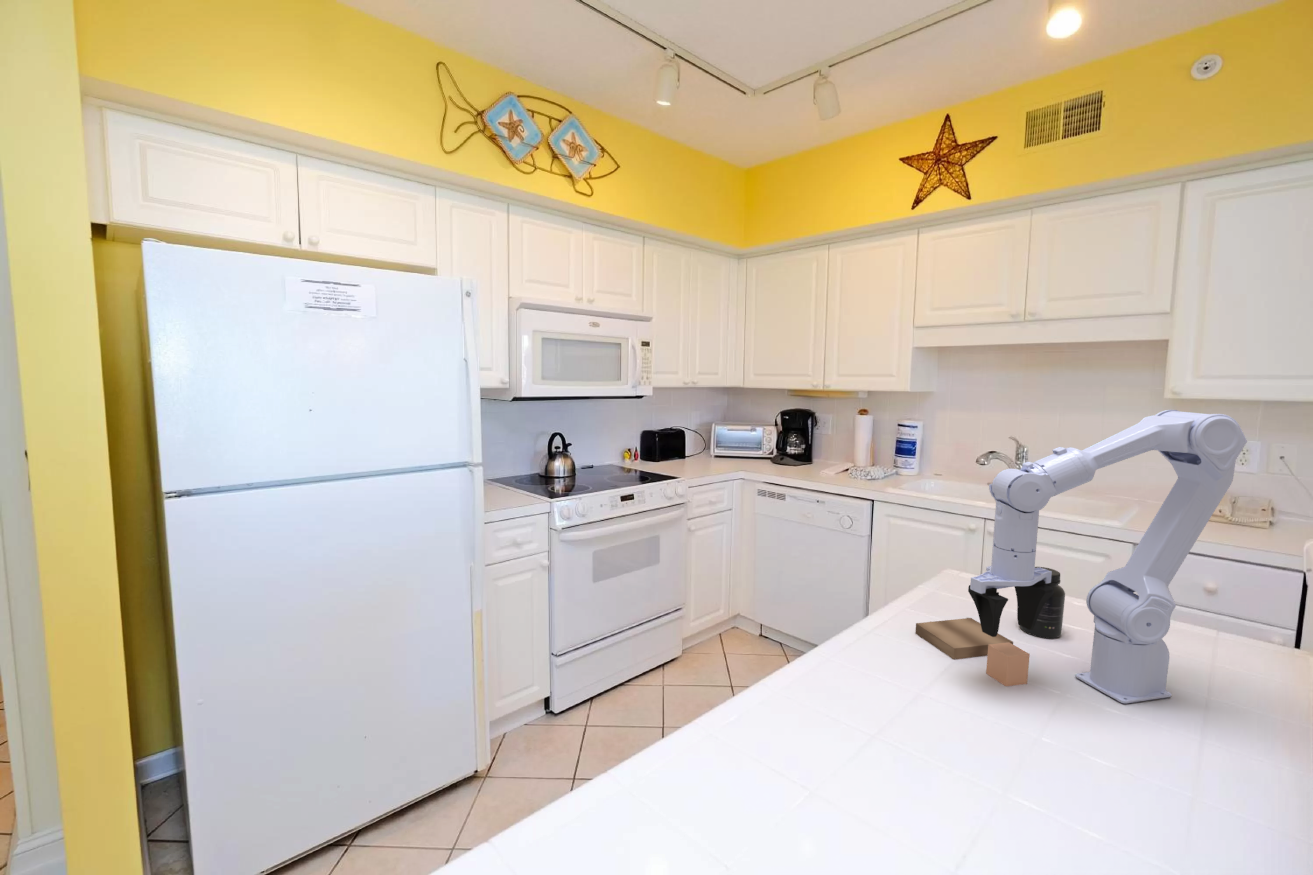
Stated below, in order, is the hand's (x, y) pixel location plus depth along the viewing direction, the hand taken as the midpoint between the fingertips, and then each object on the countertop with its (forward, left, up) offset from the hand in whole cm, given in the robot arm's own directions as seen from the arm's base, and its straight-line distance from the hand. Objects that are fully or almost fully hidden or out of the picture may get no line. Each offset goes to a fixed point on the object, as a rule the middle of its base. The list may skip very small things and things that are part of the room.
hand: (1007, 630), depth 91 cm
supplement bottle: (-21, -14, -9) cm, 27 cm away
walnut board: (-3, -13, -9) cm, 16 cm away
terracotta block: (-1, -1, -9) cm, 9 cm away
